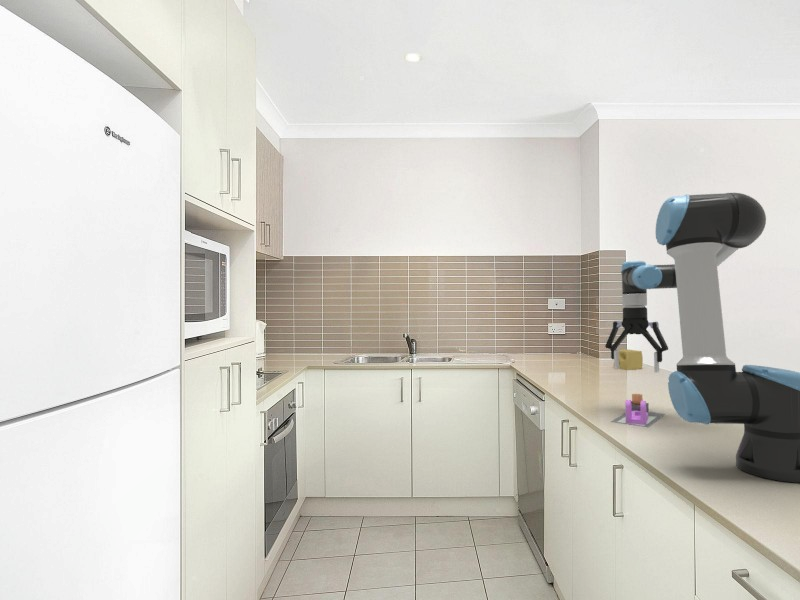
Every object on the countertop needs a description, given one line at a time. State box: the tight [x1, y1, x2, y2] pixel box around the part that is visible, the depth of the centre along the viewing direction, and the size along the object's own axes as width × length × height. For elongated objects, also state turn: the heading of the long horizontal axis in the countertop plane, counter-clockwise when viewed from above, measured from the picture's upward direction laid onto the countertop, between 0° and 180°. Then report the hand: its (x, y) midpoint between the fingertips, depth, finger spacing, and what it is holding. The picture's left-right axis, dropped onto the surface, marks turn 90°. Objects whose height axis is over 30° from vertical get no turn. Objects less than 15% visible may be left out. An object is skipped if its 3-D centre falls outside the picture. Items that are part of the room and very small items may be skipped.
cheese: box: [618, 349, 644, 371], centre depth 264 cm, size 10×11×10 cm
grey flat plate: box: [610, 411, 666, 428], centre depth 157 cm, size 21×11×1 cm, turn 138°
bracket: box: [624, 399, 648, 425], centre depth 154 cm, size 13×6×7 cm, turn 149°
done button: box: [631, 393, 644, 405], centre depth 164 cm, size 3×3×4 cm
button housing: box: [631, 400, 650, 413], centre depth 164 cm, size 6×6×3 cm
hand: (636, 370), depth 164 cm, fingers open, 12 cm apart
